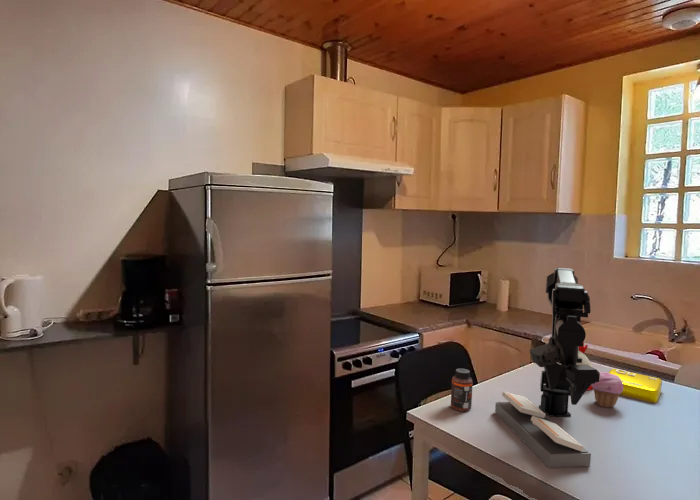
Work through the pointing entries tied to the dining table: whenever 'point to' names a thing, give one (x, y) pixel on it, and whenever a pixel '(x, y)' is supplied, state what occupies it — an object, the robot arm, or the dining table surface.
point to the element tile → (639, 385)
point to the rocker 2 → (557, 433)
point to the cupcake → (607, 389)
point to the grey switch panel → (541, 439)
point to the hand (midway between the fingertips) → (562, 396)
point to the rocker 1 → (523, 404)
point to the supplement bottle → (461, 390)
